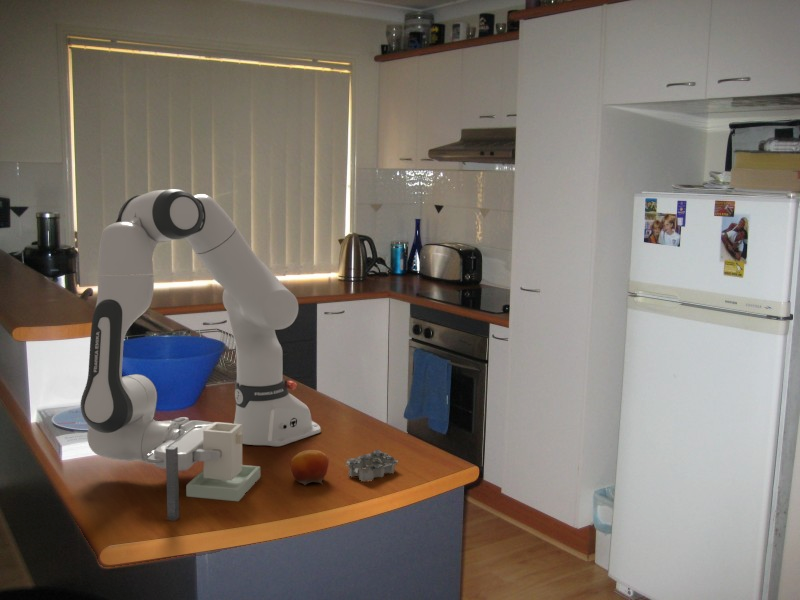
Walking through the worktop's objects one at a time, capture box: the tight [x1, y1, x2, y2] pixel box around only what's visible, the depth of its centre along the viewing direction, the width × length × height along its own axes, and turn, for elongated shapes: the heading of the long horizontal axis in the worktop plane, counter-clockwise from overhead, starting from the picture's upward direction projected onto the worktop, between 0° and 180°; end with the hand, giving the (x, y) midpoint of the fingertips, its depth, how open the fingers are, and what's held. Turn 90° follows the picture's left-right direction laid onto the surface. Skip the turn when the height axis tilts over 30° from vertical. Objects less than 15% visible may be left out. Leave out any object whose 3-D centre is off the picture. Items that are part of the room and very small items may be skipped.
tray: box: [185, 464, 261, 502], centre depth 166 cm, size 13×11×2 cm
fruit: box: [290, 449, 330, 486], centre depth 170 cm, size 8×8×8 cm
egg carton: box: [344, 449, 399, 482], centre depth 176 cm, size 11×8×4 cm
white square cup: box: [203, 421, 243, 480], centre depth 165 cm, size 6×7×10 cm
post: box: [165, 446, 180, 522], centre depth 150 cm, size 2×2×14 cm
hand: (227, 448), depth 165 cm, fingers closed on white square cup, 6 cm apart
